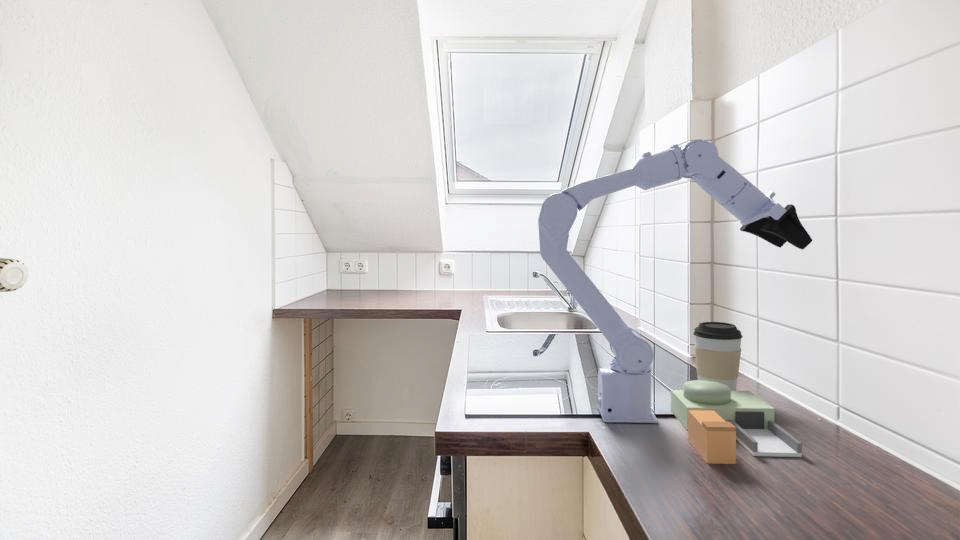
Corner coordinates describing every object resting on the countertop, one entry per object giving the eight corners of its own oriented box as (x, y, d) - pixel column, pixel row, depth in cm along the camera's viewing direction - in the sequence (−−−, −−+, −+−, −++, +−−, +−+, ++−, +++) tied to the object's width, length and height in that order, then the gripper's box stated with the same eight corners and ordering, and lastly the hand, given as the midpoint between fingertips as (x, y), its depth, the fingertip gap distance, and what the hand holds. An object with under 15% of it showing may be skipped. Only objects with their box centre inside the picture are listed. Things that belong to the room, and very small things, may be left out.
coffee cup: (730, 387, 100) (730, 318, 99) (750, 402, 91) (751, 327, 90) (686, 387, 101) (686, 319, 100) (702, 401, 92) (702, 327, 91)
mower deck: (707, 455, 70) (707, 416, 70) (670, 410, 88) (671, 379, 87) (805, 457, 68) (806, 417, 68) (748, 411, 86) (749, 380, 86)
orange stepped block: (706, 464, 68) (707, 427, 67) (688, 440, 75) (688, 406, 75) (735, 464, 67) (736, 427, 67) (713, 440, 75) (713, 406, 75)
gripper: (770, 169, 73) (838, 226, 72) (734, 179, 87) (791, 226, 86) (737, 203, 74) (803, 260, 73) (707, 207, 88) (762, 254, 88)
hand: (795, 244), depth 80 cm, fingers open, 7 cm apart
